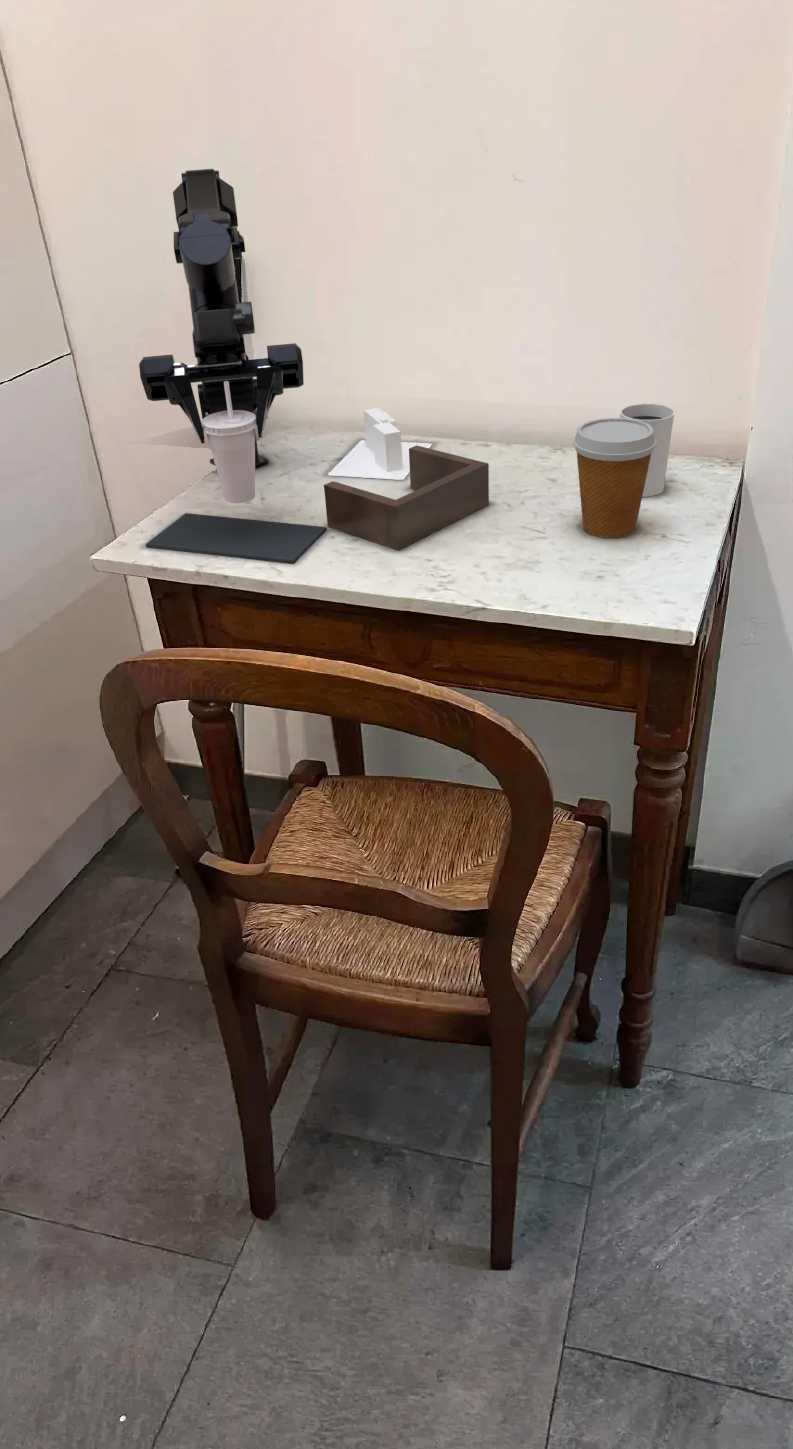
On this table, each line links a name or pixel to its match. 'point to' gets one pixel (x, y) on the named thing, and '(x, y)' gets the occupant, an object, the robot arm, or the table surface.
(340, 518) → the frame
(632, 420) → the disposable coffee cup
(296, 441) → the table surface
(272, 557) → the mat
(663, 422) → the white paper cup
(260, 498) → the table surface
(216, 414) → the smoothie
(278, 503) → the table surface
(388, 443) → the napkin holder
